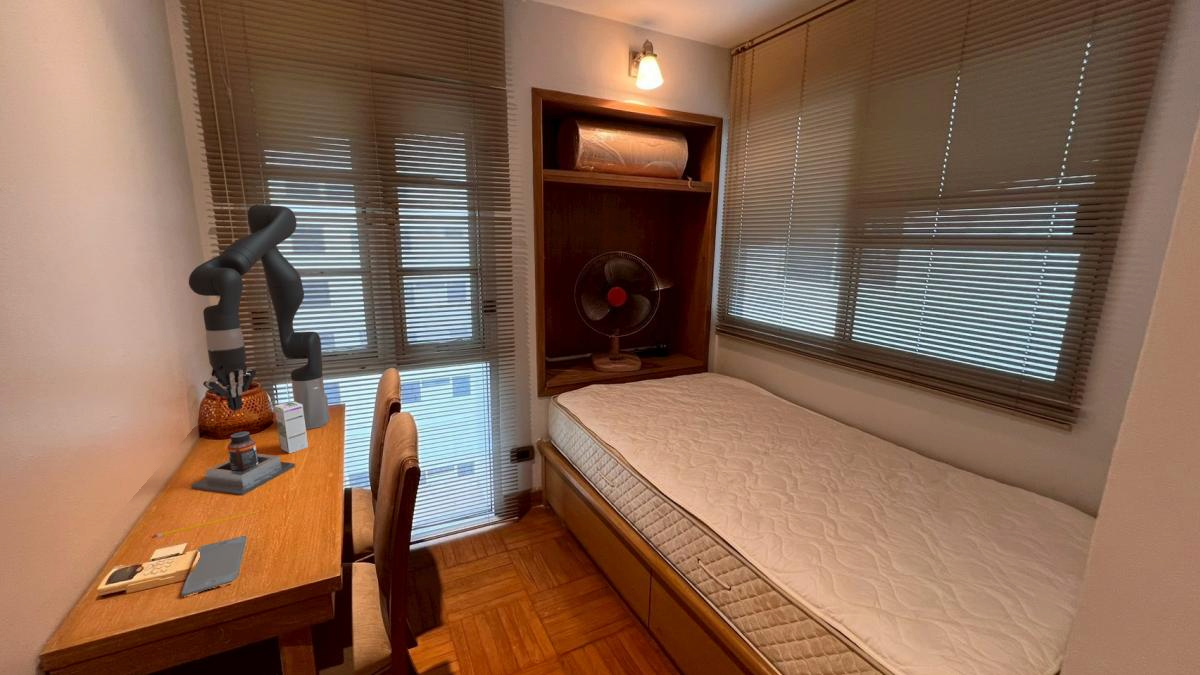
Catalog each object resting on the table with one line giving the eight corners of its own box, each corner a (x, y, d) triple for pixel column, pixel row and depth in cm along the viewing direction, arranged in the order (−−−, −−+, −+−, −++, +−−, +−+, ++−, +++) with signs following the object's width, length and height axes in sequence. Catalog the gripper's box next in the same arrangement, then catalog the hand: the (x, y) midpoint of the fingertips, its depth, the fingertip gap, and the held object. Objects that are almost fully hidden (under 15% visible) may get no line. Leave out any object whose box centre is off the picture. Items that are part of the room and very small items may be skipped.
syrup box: (309, 447, 146) (303, 403, 144) (288, 454, 141) (282, 408, 139) (299, 443, 149) (294, 400, 147) (279, 450, 144) (273, 405, 142)
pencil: (154, 537, 102) (153, 534, 102) (257, 513, 111) (257, 510, 111) (153, 539, 101) (152, 536, 101) (257, 514, 111) (256, 512, 110)
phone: (180, 601, 84) (179, 595, 84) (199, 552, 97) (198, 546, 97) (237, 585, 88) (236, 579, 88) (247, 540, 101) (247, 534, 101)
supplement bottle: (264, 468, 130) (259, 430, 128) (246, 479, 124) (241, 439, 122) (245, 467, 131) (239, 429, 129) (226, 477, 125) (220, 438, 123)
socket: (248, 461, 137) (246, 448, 136) (295, 466, 134) (293, 453, 133) (191, 488, 122) (189, 473, 121) (242, 495, 118) (240, 480, 118)
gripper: (238, 339, 128) (247, 400, 131) (187, 350, 115) (198, 417, 118) (261, 341, 126) (269, 402, 130) (212, 352, 113) (223, 419, 117)
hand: (235, 409), depth 124 cm, fingers closed
